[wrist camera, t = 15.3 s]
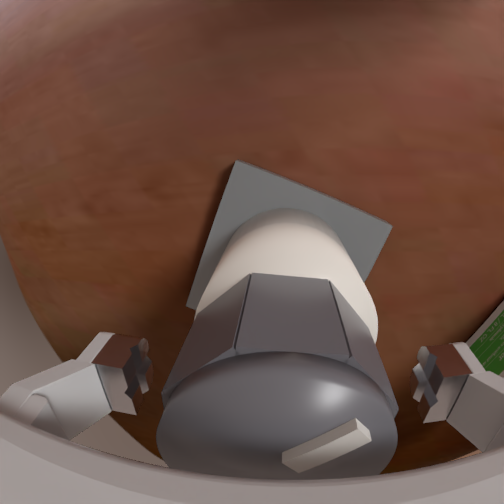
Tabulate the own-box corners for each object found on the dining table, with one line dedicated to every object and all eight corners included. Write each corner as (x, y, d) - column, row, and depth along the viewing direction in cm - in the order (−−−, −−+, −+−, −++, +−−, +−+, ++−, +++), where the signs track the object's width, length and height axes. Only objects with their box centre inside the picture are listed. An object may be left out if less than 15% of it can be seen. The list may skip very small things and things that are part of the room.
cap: (269, 425, 12) (260, 527, 7) (165, 338, 10) (109, 443, 6) (391, 356, 10) (432, 465, 6) (294, 237, 9) (306, 334, 4)
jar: (387, 222, 15) (496, 323, 6) (321, 346, 18) (340, 495, 9) (238, 159, 15) (168, 190, 6) (189, 299, 18) (117, 435, 8)
